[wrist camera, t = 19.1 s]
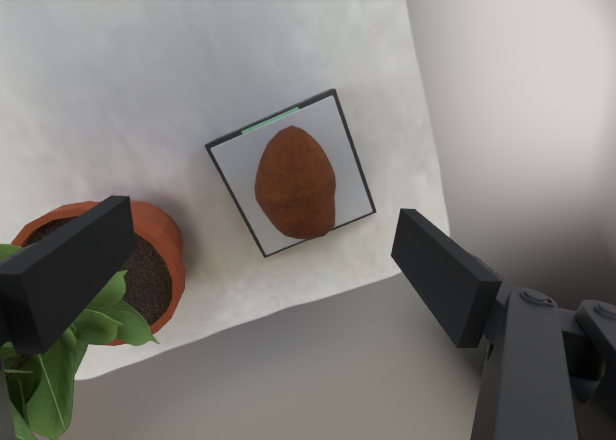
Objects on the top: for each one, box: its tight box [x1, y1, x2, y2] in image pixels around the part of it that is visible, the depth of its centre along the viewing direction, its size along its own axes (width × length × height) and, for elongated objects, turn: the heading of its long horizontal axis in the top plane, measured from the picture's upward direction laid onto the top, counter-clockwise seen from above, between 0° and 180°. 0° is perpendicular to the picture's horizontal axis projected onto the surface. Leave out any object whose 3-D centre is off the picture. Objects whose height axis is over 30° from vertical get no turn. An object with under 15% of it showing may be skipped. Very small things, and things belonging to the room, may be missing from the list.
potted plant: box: [0, 200, 185, 440], centre depth 22 cm, size 15×15×30 cm
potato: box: [254, 125, 336, 240], centre depth 28 cm, size 8×12×8 cm, turn 17°
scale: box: [205, 89, 376, 258], centre depth 34 cm, size 14×14×3 cm
